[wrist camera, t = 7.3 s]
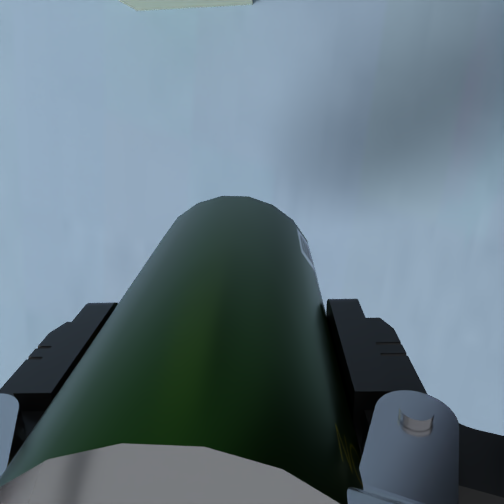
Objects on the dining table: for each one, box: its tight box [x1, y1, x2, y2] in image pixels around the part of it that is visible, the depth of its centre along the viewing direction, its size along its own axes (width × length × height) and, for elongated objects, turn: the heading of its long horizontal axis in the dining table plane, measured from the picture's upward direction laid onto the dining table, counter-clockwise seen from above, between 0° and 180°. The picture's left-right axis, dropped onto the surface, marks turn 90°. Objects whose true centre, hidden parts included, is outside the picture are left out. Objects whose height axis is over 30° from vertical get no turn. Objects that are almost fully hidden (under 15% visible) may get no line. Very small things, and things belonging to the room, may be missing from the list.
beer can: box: [0, 196, 364, 504], centre depth 10 cm, size 5×5×12 cm
